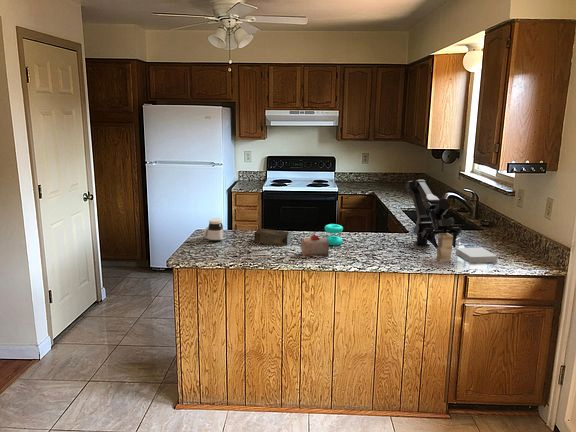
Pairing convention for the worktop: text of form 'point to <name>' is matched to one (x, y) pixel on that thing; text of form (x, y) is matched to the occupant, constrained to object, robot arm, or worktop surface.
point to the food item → (315, 246)
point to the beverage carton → (273, 236)
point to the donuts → (334, 229)
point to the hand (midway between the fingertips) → (445, 247)
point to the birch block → (444, 247)
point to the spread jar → (214, 230)
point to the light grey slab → (476, 255)
